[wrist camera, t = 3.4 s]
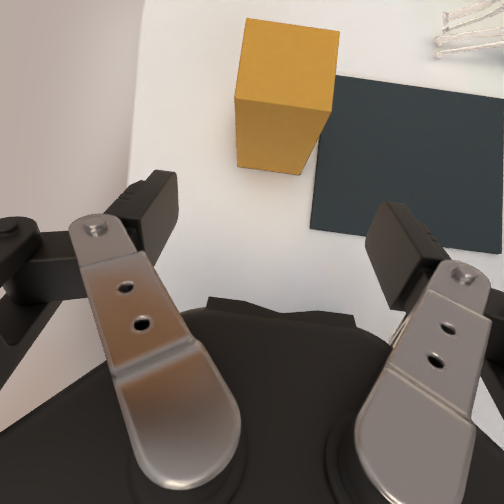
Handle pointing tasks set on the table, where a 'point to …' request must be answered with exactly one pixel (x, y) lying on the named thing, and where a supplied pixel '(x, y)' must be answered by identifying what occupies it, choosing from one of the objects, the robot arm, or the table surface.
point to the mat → (412, 161)
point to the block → (283, 93)
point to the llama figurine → (491, 32)
